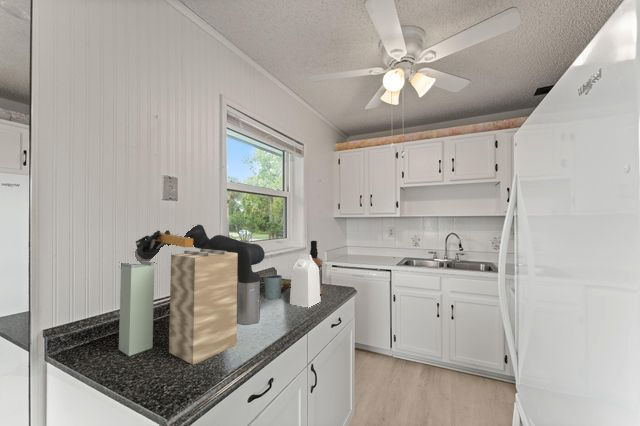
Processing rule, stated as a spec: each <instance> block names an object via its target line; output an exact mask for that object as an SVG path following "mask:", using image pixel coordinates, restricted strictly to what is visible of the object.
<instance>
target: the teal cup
mask: <svg viewBox="0 0 640 426" xmlns="http://www.w3.org/2000/svg"><path fill="white" fill-rule="evenodd" d="M282 278H283V276H282V275H281V274H270V275H265V276H263V281H264V291H265V298H267V300H278V299H277V298H279V299H280V297H282V293H281V288H282V287H281V282H282Z"/></svg>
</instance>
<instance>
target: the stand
mask: <svg viewBox="0 0 640 426" xmlns="http://www.w3.org/2000/svg"><path fill="white" fill-rule="evenodd" d="M199 250H200V251H196V250H183V251H184V253H177V254H176V253H175V254H171V255H170V288H169V291H170V293H169V327H168V328H169V331H168V332H169V334H168V335H169V337H168V338H169V339H168V340H169V341H168V353H169V354H172V356H175V357H177V358H179V359H181V360H182V361H185V362H186V363H188V364H190V365H196V364H198V363H200V362H203V361H205V360H207V359H209V358H211V357H214V356H215V355H218V354H220V353H222V352H225V351H226V350H229V349H231V348H233V347H235V346H237V342H238V341H237V331H238V330H237V329H238V327H237V326H238V325H237V324H238V322H237V320H238V318H237V316H238V277H237V258H238V253H232V252H227V251H218V250H207V249H199Z"/></svg>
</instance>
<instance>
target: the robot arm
mask: <svg viewBox="0 0 640 426" xmlns="http://www.w3.org/2000/svg"><path fill="white" fill-rule="evenodd" d="M196 225H197V226H195V227H193V228H192V229H191V230H190V231H188V232H187V233H186V235H185V236H184V237H187V238H188V237H190V238H192V239H193V245H194V247H195V249H199V250H200V249H207V250H218V251H227V252H232V253H238V258H237V324H240V325H253V324H257V323H258V324H259V322H260V319H261V296H260V290H261V289H260V282H261V280H260V278H261V276H260V274H259V273H257V272H255V271H253V268H252V266H254V265H258V264H260V263H261V262H263V260H264V259H265V255H266V254H265V250H264V249H263V247H262V246H261V245H259V244H258V243H249V242H244V241H241V240H238V239H235V238H232V237H229V236H226V235H222V234H215V235H214V236H213V237H211V238H209V237H208V235H207V232H206V230H205V228H204V226H203V225H202V224H196ZM153 233H154V234H153ZM153 233H152V234H151V235H150V236H149V235H145V236H143V237H142V238H139V239H138V240H136V241H135V244H136V248H137V249H136V248H135V250H136V251H135V250H134V251H135V257H136V259H137V261H139V262H140V263H141V261H150V260H151V259H152V258H153V257H154V256H155V255H156V254H157V253H158V252H159V250H160V248H161V247H163V246H164V245H166V244H167V245H168V246H169V245H171V244H168V243H164V242H159V241H156V239H158V238H159V236H160V235H161V233H162V232H161V230H157V231H155V232H153ZM164 233H166V234H171V231H170V230H169V229H168V230H166V231H165V232H164ZM194 247H193V248H194Z"/></svg>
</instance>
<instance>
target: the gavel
mask: <svg viewBox="0 0 640 426" xmlns="http://www.w3.org/2000/svg"><path fill="white" fill-rule="evenodd" d="M281 286H283V287H281V292H282V291H283V292H284V291H286V290H287V289H288V288H290V287H289V286H291V280H290V281H289V280H288V281H287V280H284V279H283V280H282V281H281ZM285 289H286V290H285ZM283 292H282V293H283Z"/></svg>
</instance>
